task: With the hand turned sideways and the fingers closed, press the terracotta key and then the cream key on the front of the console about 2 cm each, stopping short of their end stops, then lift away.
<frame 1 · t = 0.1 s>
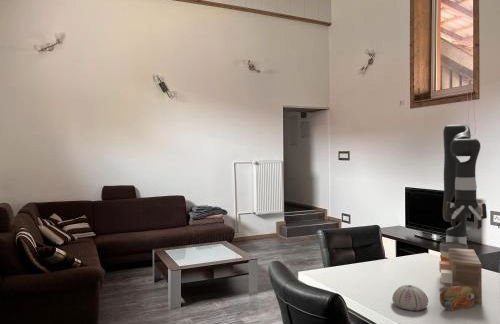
hand: (466, 228, 157), 29 cm above the table, tool pointing down, fingers open, 8 cm apart
terracotta key: (448, 267, 176), point 8 cm above the table, slide at 0.0 cm
sea urchin shell: (409, 306, 153), on the table
reusable coffee cup: (454, 275, 189), on the table
console: (464, 292, 166), on the table
cream key: (450, 276, 163), point 8 cm above the table, slide at 0.0 cm
tin: (457, 308, 150), on the table
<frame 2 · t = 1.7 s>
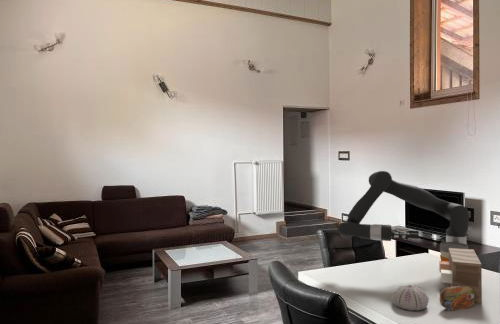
hand: (418, 234, 180), 22 cm above the table, tool horizontal, fingers open, 6 cm apart
nothing on the table moved.
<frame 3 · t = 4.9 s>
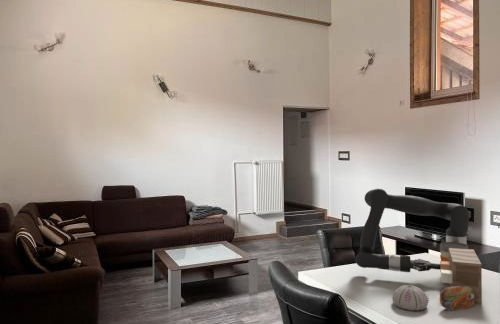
hand: (440, 266, 177), 8 cm above the table, tool horizontal, fingers closed
terracotta key: (449, 267, 175), point 8 cm above the table, slide at 0.4 cm, touching gripper
everything else where it was.
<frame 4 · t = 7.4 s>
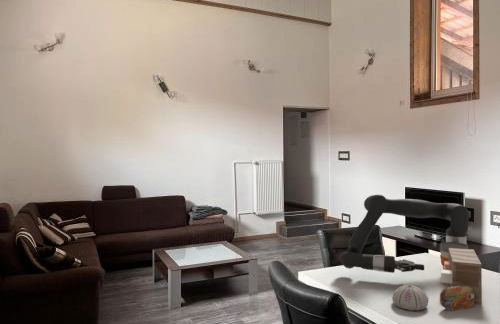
hand: (424, 267, 176), 8 cm above the table, tool horizontal, fingers closed
terracotta key: (453, 267, 175), point 8 cm above the table, slide at 2.1 cm
everything else where it was.
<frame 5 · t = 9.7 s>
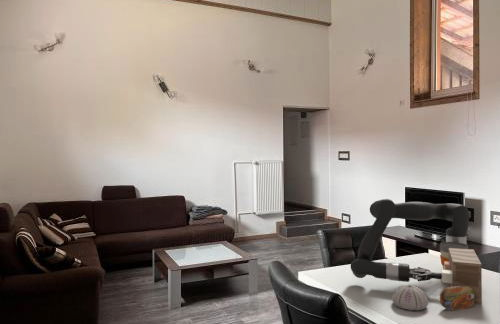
hand: (441, 276, 164), 8 cm above the table, tool horizontal, fingers closed
cream key: (451, 276, 163), point 8 cm above the table, slide at 0.2 cm, touching gripper
everything else where it was.
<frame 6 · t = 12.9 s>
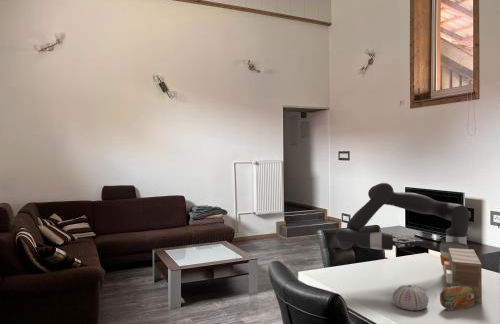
hand: (423, 243, 168), 21 cm above the table, tool horizontal, fingers closed
cream key: (456, 277, 162), point 8 cm above the table, slide at 2.1 cm
everything else where it was.
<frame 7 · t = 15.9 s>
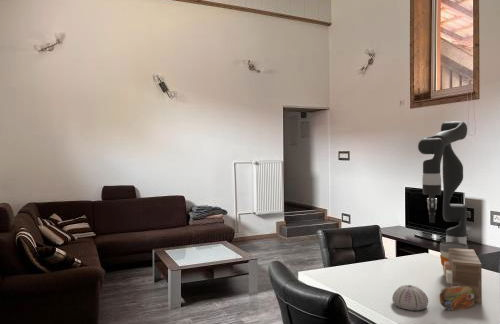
hand: (432, 222, 172), 29 cm above the table, tool pointing down, fingers closed
nothing on the table moved.
at the end: terracotta key slide at 2.1 cm; cream key slide at 2.1 cm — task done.
